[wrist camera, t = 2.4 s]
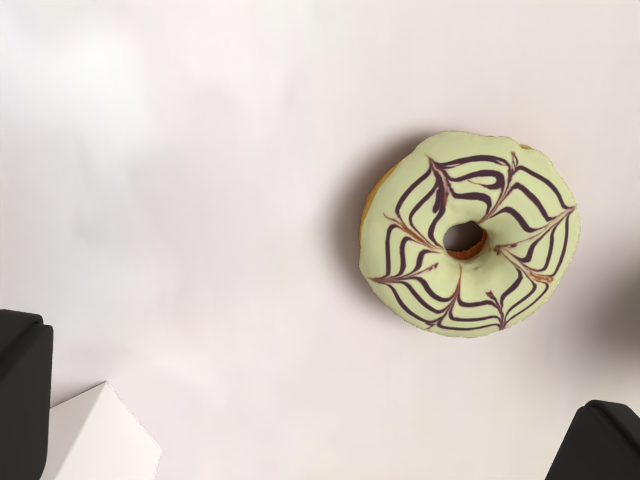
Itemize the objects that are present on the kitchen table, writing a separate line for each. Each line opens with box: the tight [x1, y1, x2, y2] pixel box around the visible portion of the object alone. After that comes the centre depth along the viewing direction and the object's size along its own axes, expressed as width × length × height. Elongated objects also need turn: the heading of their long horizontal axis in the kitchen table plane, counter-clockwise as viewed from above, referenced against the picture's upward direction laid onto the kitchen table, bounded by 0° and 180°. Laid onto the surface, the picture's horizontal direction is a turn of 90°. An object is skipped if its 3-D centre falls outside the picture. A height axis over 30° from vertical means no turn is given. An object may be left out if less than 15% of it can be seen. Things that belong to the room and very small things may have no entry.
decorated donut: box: [359, 131, 580, 338], centre depth 26 cm, size 10×11×4 cm
